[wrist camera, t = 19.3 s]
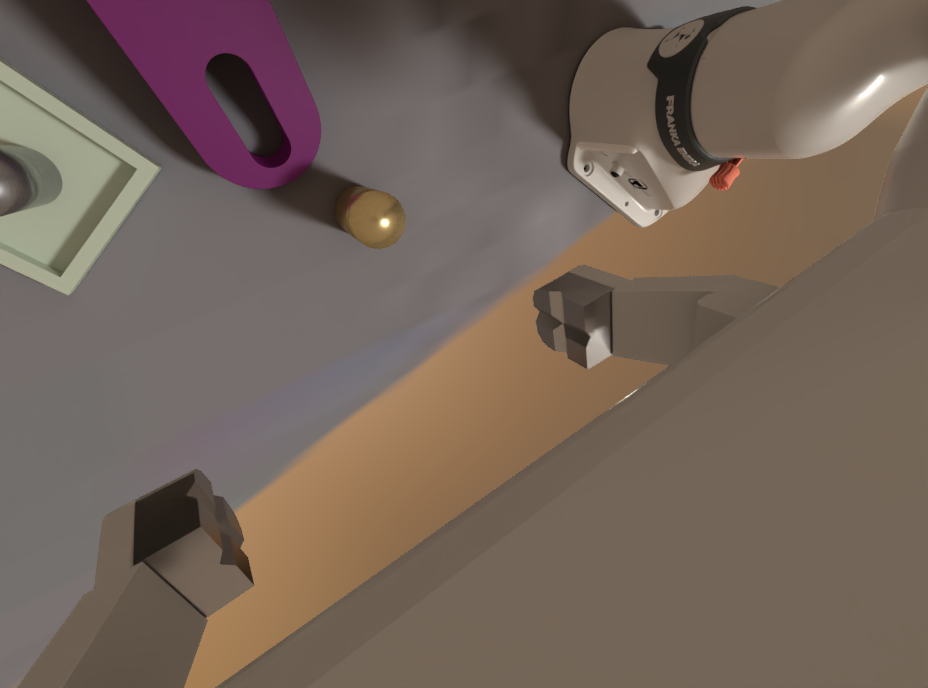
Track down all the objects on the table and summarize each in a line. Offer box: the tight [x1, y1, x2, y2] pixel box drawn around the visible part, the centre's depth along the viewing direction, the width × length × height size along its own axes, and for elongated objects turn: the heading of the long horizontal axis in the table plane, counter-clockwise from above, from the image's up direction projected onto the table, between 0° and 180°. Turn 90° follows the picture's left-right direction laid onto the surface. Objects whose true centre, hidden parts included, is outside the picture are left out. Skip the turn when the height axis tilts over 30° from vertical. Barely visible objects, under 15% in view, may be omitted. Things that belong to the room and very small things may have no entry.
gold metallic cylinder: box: [335, 186, 405, 249], centre depth 39 cm, size 5×5×7 cm
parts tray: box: [0, 58, 163, 295], centre depth 31 cm, size 12×12×2 cm
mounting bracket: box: [87, 0, 321, 189], centre depth 32 cm, size 9×8×18 cm
